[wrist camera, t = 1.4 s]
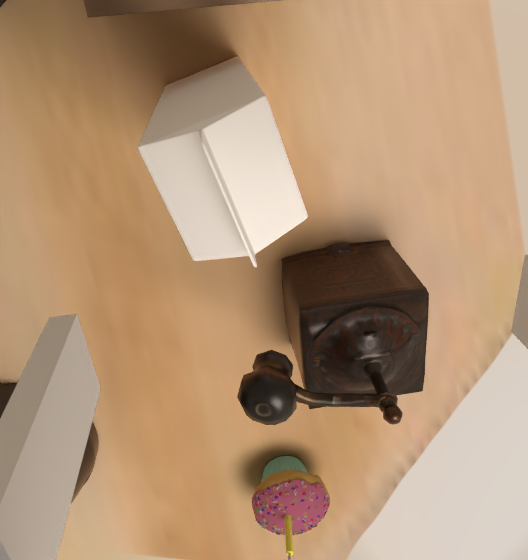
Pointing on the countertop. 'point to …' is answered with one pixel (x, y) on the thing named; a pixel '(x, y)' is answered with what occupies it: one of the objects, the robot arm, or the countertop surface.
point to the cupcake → (289, 499)
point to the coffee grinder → (344, 334)
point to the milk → (221, 164)
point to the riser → (152, 5)
